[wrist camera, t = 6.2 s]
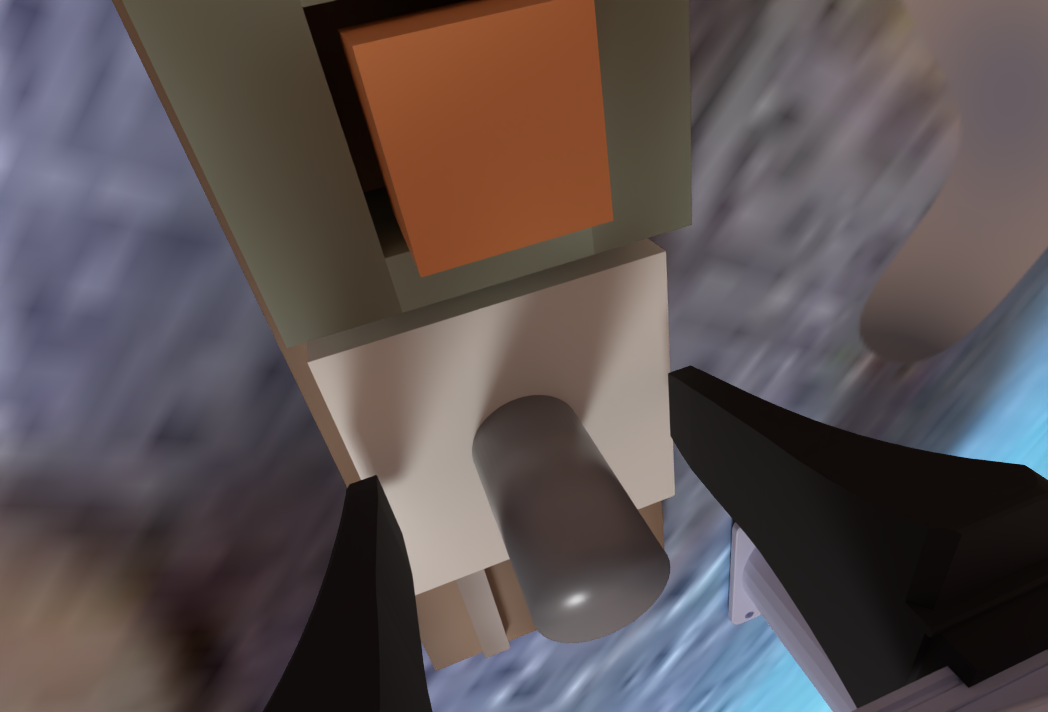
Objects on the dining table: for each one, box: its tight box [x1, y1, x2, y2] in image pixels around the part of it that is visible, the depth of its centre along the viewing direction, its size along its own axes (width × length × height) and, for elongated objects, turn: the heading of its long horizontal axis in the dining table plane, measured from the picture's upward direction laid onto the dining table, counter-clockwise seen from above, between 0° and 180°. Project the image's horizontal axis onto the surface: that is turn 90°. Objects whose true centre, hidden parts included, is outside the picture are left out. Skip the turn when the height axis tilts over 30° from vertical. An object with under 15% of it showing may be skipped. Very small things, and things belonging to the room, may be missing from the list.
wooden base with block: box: [112, 0, 692, 671], centre depth 17 cm, size 10×24×6 cm, turn 10°
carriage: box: [307, 238, 675, 643], centre depth 14 cm, size 8×8×7 cm
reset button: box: [337, 0, 613, 277], centre depth 9 cm, size 3×3×3 cm
